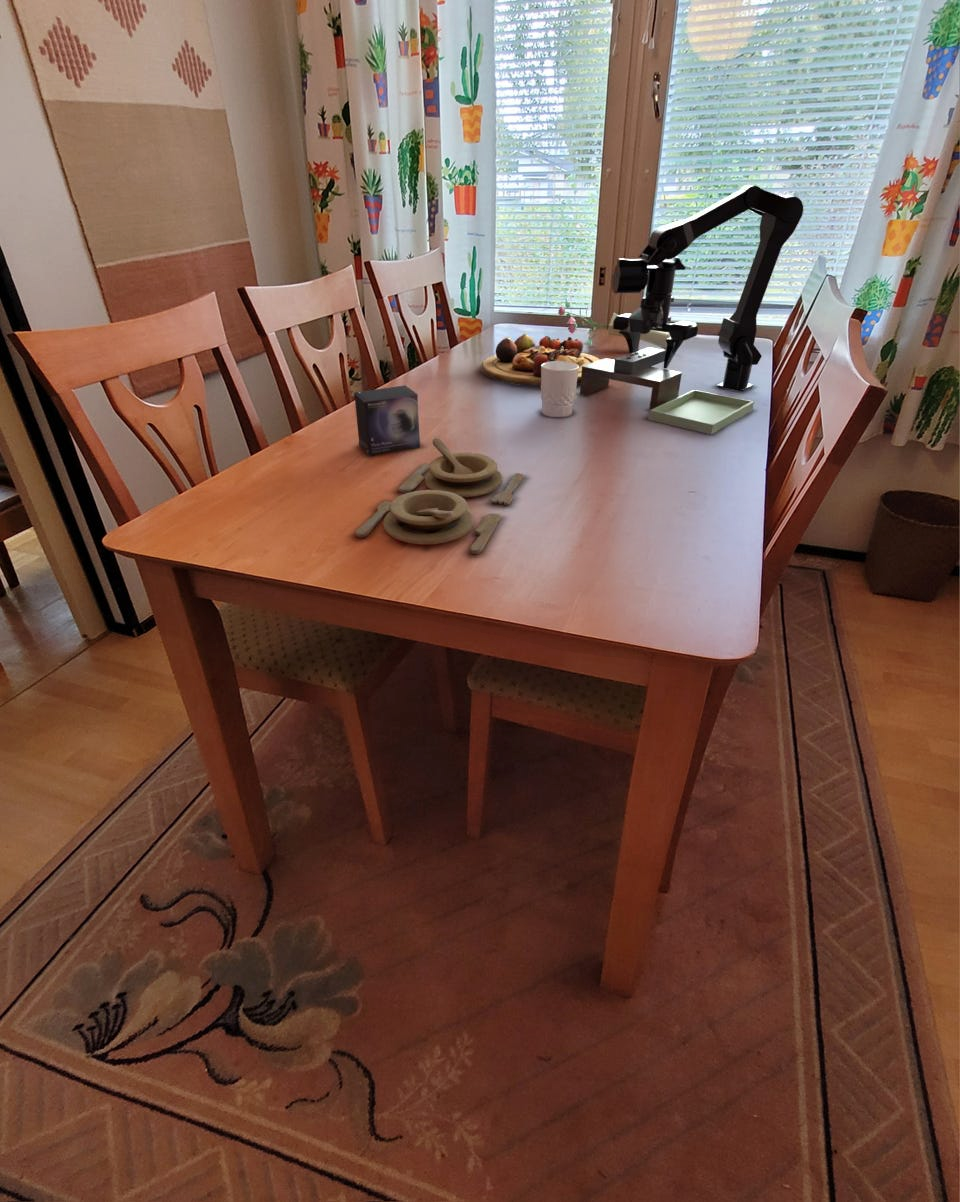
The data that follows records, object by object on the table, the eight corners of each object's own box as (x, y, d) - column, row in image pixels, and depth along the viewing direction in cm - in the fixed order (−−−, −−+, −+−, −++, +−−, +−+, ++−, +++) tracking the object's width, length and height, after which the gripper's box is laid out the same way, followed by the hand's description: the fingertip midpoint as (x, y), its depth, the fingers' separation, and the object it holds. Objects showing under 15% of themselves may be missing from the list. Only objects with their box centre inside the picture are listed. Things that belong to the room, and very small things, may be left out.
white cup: (579, 409, 143) (583, 363, 138) (568, 420, 137) (571, 372, 132) (546, 405, 146) (548, 359, 140) (533, 415, 140) (535, 368, 135)
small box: (369, 457, 121) (363, 401, 115) (358, 446, 125) (352, 391, 119) (421, 447, 125) (418, 392, 119) (409, 437, 129) (405, 384, 123)
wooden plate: (591, 394, 153) (594, 358, 148) (464, 383, 162) (463, 348, 157) (613, 361, 178) (616, 329, 174) (502, 353, 187) (502, 322, 182)
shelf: (602, 385, 159) (605, 358, 155) (677, 401, 148) (682, 372, 144) (579, 394, 153) (581, 366, 149) (655, 411, 142) (659, 381, 138)
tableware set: (478, 557, 90) (478, 518, 86) (349, 538, 94) (344, 501, 91) (527, 475, 113) (528, 442, 110) (422, 463, 118) (420, 431, 115)
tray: (692, 398, 150) (693, 389, 149) (752, 410, 142) (754, 401, 141) (648, 419, 138) (649, 410, 136) (711, 434, 130) (713, 424, 128)
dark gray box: (647, 358, 155) (648, 345, 153) (664, 361, 152) (666, 348, 151) (613, 370, 146) (614, 357, 144) (631, 374, 143) (632, 360, 142)
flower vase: (659, 379, 190) (546, 345, 194) (666, 357, 197) (557, 324, 201) (674, 343, 181) (554, 308, 184) (680, 321, 188) (565, 287, 191)
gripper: (603, 292, 144) (596, 365, 152) (680, 302, 133) (668, 379, 142) (629, 286, 151) (621, 356, 159) (704, 295, 140) (692, 369, 149)
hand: (649, 365), depth 152 cm, fingers open, 8 cm apart
